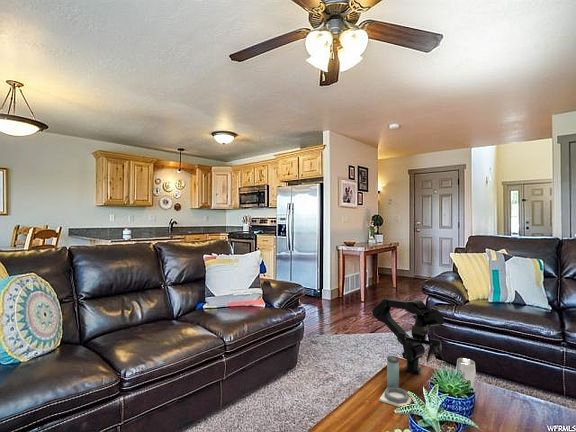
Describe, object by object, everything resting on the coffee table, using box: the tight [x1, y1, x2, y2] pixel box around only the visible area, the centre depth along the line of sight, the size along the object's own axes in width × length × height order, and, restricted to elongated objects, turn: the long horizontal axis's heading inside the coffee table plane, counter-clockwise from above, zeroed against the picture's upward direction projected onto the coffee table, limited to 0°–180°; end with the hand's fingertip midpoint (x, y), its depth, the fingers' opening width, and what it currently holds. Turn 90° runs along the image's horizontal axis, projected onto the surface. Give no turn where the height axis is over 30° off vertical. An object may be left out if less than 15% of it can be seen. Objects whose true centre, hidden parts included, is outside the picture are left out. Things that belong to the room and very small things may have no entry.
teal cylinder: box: [386, 355, 400, 388], centre depth 145 cm, size 5×5×12 cm
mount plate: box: [379, 386, 413, 408], centre depth 135 cm, size 11×11×2 cm
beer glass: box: [456, 357, 477, 389], centre depth 136 cm, size 7×7×15 cm
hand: (415, 359), depth 144 cm, fingers open, 9 cm apart
